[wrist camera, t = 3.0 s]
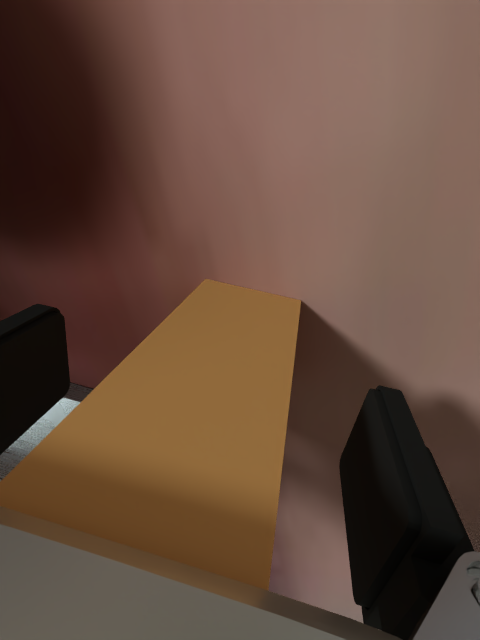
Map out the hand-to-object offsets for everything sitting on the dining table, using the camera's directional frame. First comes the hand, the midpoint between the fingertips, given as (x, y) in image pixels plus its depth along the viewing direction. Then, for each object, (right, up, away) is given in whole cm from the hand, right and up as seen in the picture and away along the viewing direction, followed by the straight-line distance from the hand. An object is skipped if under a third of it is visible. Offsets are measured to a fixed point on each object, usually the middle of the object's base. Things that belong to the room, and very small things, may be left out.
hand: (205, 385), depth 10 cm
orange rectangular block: (+1, +2, +3) cm, 4 cm away
